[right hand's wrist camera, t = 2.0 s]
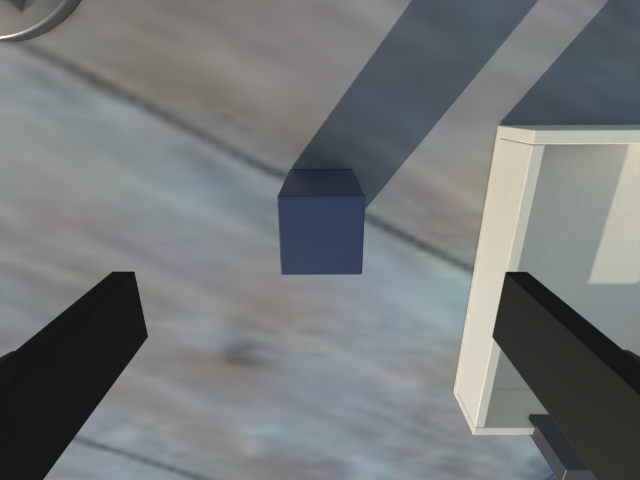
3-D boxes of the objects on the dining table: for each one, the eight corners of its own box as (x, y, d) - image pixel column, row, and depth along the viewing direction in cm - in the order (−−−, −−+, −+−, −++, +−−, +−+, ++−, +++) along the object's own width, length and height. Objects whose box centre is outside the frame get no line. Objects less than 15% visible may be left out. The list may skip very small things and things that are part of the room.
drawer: (497, 125, 25) (581, 135, 17) (753, 124, 24) (957, 133, 17) (452, 395, 33) (493, 485, 25) (641, 394, 33) (741, 485, 25)
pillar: (289, 169, 26) (277, 196, 18) (352, 168, 26) (365, 195, 18) (291, 228, 27) (281, 275, 20) (350, 227, 27) (362, 274, 20)
